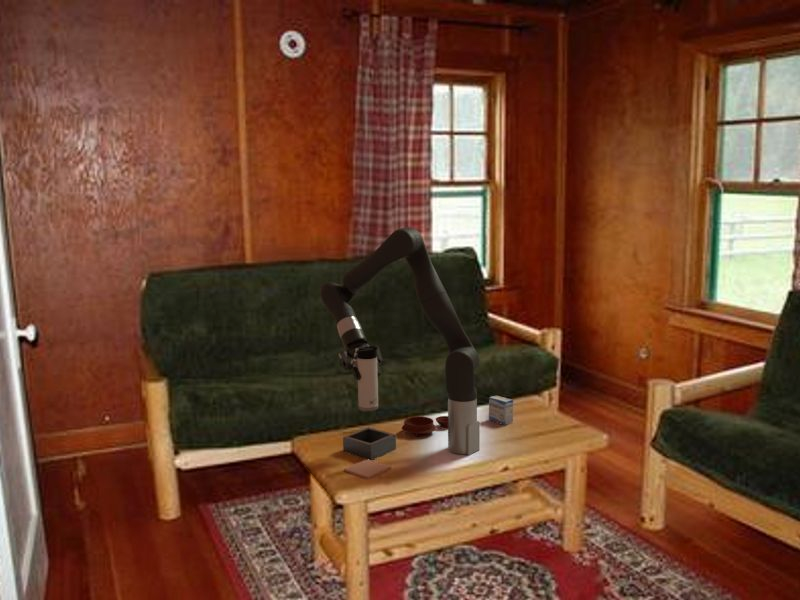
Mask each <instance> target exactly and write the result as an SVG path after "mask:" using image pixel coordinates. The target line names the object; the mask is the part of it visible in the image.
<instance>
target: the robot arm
mask: <svg viewBox="0 0 800 600" xmlns="http://www.w3.org/2000/svg"><path fill="white" fill-rule="evenodd" d="M404 258H405V260H406V262H407V263H408V265H409V267H410V269H411V272H412V275H413V280H414V287H415V288H414V289H415V292H416V293H415V294H416V298H417V300H418V303H419V305H420V307H421V309H422V312H423V313H424V315H425V317H426V319H427V320H428V321H429V322H430V324H431V325H432V326H433V327H434V329H436V330H437V332H438V333H439V334H440V335H441V337H442V338H443V339H444V342H445V343H446V346H447V348H448V351H449V354H448V355H447V357H446V360H445V364H444V371H445V372H444V374H445V375H444V376H445V378H444V379H445V390H446V392H447V416H448V428H447V449H448V451H449V452H451V453H452V454H456V455H467V456H471V455H472V454H474V453H475V452H477V451H479V450H480V433H481V432H480V431H481V430H480V428H481V427H480V426H481V425H480V424H481V423H480V420H478V390H477V388H476V387H475V378H474V375H475V374H474V373H475V372H476V371H477V369H478V368H479V366H480V356H479V353H478V351H477V350H476V349H475V347H474V345H473V343H472V342H471V340H470V338H469V337H468V335H467V333H466V332H465V330H464V327H463V326H462V324H461V321H460V319H459V316H458V315H457V311H456V310H455V308H454V306H453V304H452V301H451V298H450V297H449V295H448V293H447V291H446V289H445V287H444V285H443V283H442V281H441V278H440V276H439V274H438V273H437V270H436V269H435V267H434V265H433V263H432V260H431V257H430V254H429V253H428V249H427V247H426V243H425V241H424V238H423V235H422V234H421V232H420V231H418V229H415V228H414V227H409V226H408V227H402V228H398V229H395V230H394V231H392V233H391V234H389V236H388V237H387V238H386V239H385V240H384V241H383V242H382V243H381V245H379V246H378V248H376V250H374V251H373V252H372V253H371V254H370V255H368V256H367V257H366V258H365V259H363V260H362V261H360V262H359V263H358V264H356V265H354V267H352V268H351V269H350V270H348V271H346V272H345V274H344V275H342V283H343V284H338V283H336V282H333V281H327V282H325V283H324V284H323V285H321V287H320V288H321V289H320V299H321V302H322V303H323V304H324V306H325V308H326V309H327V310H328V312H329V313H330V314H331V316H332V317H333V319H334V320H333V321H334V322H335V325H336V328H337V332H338V335H339V338H340V340H341V342H342V345H343V348H344V349H345V350H340V352H339V353H338V355H337V357H338V359H339V361H340V363H341V365H342V367H343V368H344V370H345V371H348V370H349V371H351V372H352V375H353V377H354V379H355V380H356V381H358V380H360V378H361V375H360V372H359V370H358V367H357V350H359V349H360V348H363V347H369V346H370V345H369V344H368V340H367V338H366V336H365V333H364V330H363V327H362V325H361V323H360V322H359V320H358V318H357V316H356V313H355V310H354V309H353V307H352V306H351V305H349V303H350V302H351V301H352V299H354V297H355V296H356V294H357V293H358V291H359V290H361V289H362V288H363V287H365V286H366V285H368V284H369V283H371V282H372V281H373V280H374V279H375V278H376V277H377V276H378V275H379V274H380V273H381V272H382V271H383V270H384V269H386V267H388V266H389V265H391V264H392V263H395V262H397V261H398V260H401V259H404ZM377 346H378V345H377ZM348 358H350V359H351V361H349V359H348ZM382 362H383V356H382V353H381V350H380V347H379V346H378V349H377V373H378V378H379V377H380V376H381V373H382V370H381V367H380V365H381V363H382Z"/></svg>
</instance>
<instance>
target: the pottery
mask: <svg viewBox="0 0 800 600" xmlns="http://www.w3.org/2000/svg"><path fill="white" fill-rule="evenodd" d="M434 421H436V422H437V424H438V425H439V426H440V428H441V429H448V415H441V416H438V417H436V418H435V420H433V418H431V417H428V416H411V417H407V418H405V419H404V421H403V425H402V427H401V430H402V431H403V432H406V433H408V434H410V435H411V434H412V435H411V436H414V435H415V437H417V436H418V437H423V436H427V435H428V434H430V433H432V432H435V430H436V429H437V427H436V425H435V424H434Z"/></svg>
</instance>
